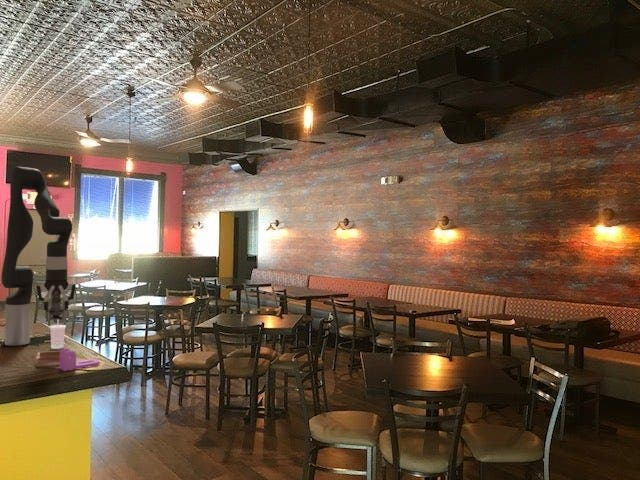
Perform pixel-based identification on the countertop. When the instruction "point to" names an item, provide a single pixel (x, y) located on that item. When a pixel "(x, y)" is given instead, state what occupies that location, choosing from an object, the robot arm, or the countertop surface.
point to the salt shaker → (56, 307)
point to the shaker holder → (47, 358)
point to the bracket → (73, 361)
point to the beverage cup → (57, 335)
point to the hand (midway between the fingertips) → (56, 310)
